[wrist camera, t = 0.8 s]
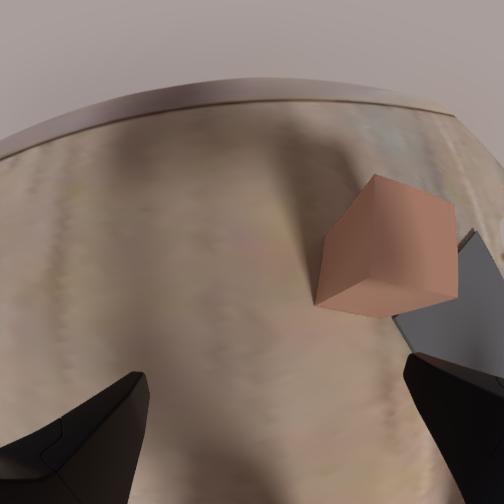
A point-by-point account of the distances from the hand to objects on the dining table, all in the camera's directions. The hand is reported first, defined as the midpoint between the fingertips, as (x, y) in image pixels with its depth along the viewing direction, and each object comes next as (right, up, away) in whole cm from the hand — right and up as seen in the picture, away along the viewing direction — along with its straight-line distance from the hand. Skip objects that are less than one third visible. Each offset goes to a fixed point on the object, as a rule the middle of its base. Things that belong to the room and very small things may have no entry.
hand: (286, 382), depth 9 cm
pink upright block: (+7, +2, +15) cm, 17 cm away
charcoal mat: (+22, -4, +14) cm, 26 cm away
